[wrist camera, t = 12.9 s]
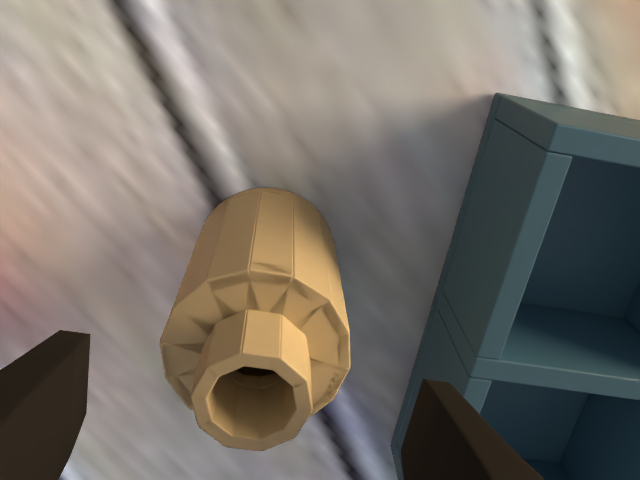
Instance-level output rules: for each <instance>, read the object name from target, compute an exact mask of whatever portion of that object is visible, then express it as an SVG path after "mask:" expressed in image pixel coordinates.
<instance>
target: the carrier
mask: <svg viewBox="0 0 640 480" xmlns="http://www.w3.org/2000/svg"><path fill="white" fill-rule="evenodd" d="M422 379H428V380H435V381H443V382H449V383H450V384H451V385H452V386H453V387H454V388H455V389H456V390H457V391H458V392H459V393H460V394H461V395H462V396H463V397H464V398H465V399H466V400H467V401H468V402H469V403H470V404H471V405H472V407H473V408H474V409H475V410H476V411H477V412H478V413H479V414H480V415H481V416H482V417H483V418H484V419H485V421H486V422H487V423H488V424H489V425H490V426H491V427H492V428H493V429H494V430H495V431H496V432H497V433H498V434H499V435H500V436H501V437H502V438H503V439H504V440H505V441H506V442H507V444H508V445H509V446H510V447H511V448H512V449H513V450H514V451H515V452H516V453H517V454H519V455H520V456H521V457H522V458H523V459H524V460H525V461H526V462H527V463H528V464H529V465H530V466H531V467H532V468H533V469H534V470H535V471H536V472H537V473H539V474H540V475H541V476H542V477H543V478H544V479H545V480H640V120H634V119H629V118H624V117H619V116H614V115H609V114H604V113H599V112H593V111H588V110H583V109H578V108H573V107H568V106H563V105H557V104H552V103H547V102H542V101H537V100H532V99H527V98H522V97H516V96H511V95H506V94H501V93H496V94H495V96H494V99H493V102H492V106H491V109H490V113H489V116H488V119H487V123H486V126H485V129H484V133H483V136H482V139H481V143H480V146H479V149H478V153H477V156H476V160H475V163H474V166H473V170H472V173H471V176H470V180H469V183H468V186H467V190H466V193H465V197H464V200H463V203H462V207H461V210H460V213H459V217H458V220H457V223H456V227H455V230H454V233H453V237H452V240H451V244H450V247H449V250H448V254H447V257H446V260H445V264H444V267H443V270H442V274H441V277H440V280H439V284H438V287H437V291H436V294H435V297H434V301H433V304H432V307H431V311H430V314H429V317H428V321H427V324H426V328H425V331H424V334H423V338H422V341H421V344H420V348H419V351H418V354H417V358H416V361H415V364H414V368H413V371H412V375H411V378H410V381H409V385H408V388H407V391H406V395H405V398H404V401H403V405H402V408H401V412H400V415H399V418H398V422H397V425H396V428H395V432H394V435H393V438H392V442H391V445H390V446H391V451H392V455H393V459H394V464H395V468H396V473H397V478H398V480H404V479H403V470H402V460H401V447H402V444H403V441H404V438H405V434H406V431H407V428H408V425H409V422H410V418H411V415H412V412H413V409H414V405H415V402H416V399H417V396H418V392H419V389H420V386H421V383H422Z"/></svg>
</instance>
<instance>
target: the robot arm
mask: <svg viewBox="0 0 640 480" xmlns="http://www.w3.org/2000/svg"><path fill="white" fill-rule="evenodd" d="M89 351H90V334H86V333H78V332H71V331H63V330H60V331H58V332H57V333H55V334H54V335H52V336H51V337H49V338H48V339H46V340H44V341H43V342H42V343H40V344H39V345H37V346H36V347H34V348H33V349H31V350H30V351H28V352H27V353H25V354H24V355H22V356H21V357H19V358H18V359H16V360H15V361H14V362H12V363H11V364H9V365H7V366H6V367H4V368H3V369H1V370H0V480H58V479H59V477H60V475H61V473H62V471H63V469H64V467H65V465H66V463H67V461H68V459H69V457H70V455H71V453H72V450H73V447H74V445H75V442H76V440H77V437H78V434H79V432H80V429H81V426H82V423H83V421H84V418H85V415H86V409H87V389H88V370H89ZM401 460H402V470H403V479H404V480H545V479H544V478H543V477H542V476H541V475H540V474H539V473H537V472H536V471H535V470H534V469H533V468H532V467H531V466H530V465H529V464H528V463H527V462H526V461H525V460H524V459H523V458H522V457H521V456H520V455H519V454H517V453H516V452H515V451H514V450H513V449H512V448H511V447H510V446H509V445H508V444H507V442H506V441H505V440H504V439H503V438H502V437H501V436H500V435H499V434H498V433H497V432H496V431H495V430H494V429H493V428H492V427H491V426H490V425H489V424H488V423H487V422H486V421H485V419H484V418H483V417H482V416H481V415H480V414H479V413H478V412H477V411H476V410H475V409H474V408H473V407H472V405H471V404H470V403H469V402H468V401H467V400H466V399H465V398H464V397H463V396H462V395H461V394H460V393H459V392H458V391H457V390H456V389H455V388H454V387H453V386H452V385H451V384H450V383H449V382H443V381H435V380H428V379H422V383H421V386H420V389H419V392H418V396H417V399H416V402H415V405H414V409H413V412H412V415H411V418H410V422H409V425H408V428H407V431H406V434H405V438H404V441H403V444H402V447H401Z"/></svg>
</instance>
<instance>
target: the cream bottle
mask: <svg viewBox="0 0 640 480" xmlns="http://www.w3.org/2000/svg"><path fill="white" fill-rule="evenodd" d="M160 348H161V354H162V360H163V367H164V373H165V377H166V380H167V381H168V382H169V384H170V385H171V386H172V387H173V389H174V390H175V391H176V393H177V394H178V395H179V397H180V398H181V399H182V400H183V402H184V403H185V404H186V406H187V407H188V408H189V409H191V410H193V411H194V413H195V417H196V421H197V424H198V426H199V428H201V429H202V430H203V431H205V432H206V433H207V434H209V435H210V436H211V437H213V438H214V439H215V440H217V441H218V442H219V443H221V444H222V445H223V446H226V447H229V448H237V449H246V450H254V451H264V450H267V449H269V448H272V447H274V446H277V445H279V444H282V443H284V442H286V441H289V440H291V439H294V437H296V436H297V434H298V432H299V431H300V429H301V428H302V426H303V425H304V423H305V422H306V420H307V419H308V418H309V417H310V416H312V415H313V414H315V413H316V412H317V411H319V410H320V409H321V408H323V407H324V406H326V405H327V404H328V403H330V402H331V401H332V400H333V399H334V397H335V395H336V394H337V392H338V390H339V388H340V386H341V384H342V382H343V381H344V379H345V377H346V375H347V373H348V371H349V369H350V331H349V325H348V319H347V314H346V308H345V302H344V296H343V290H342V284H341V278H340V272H339V267H338V261H337V255H336V249H335V243H334V239H333V237H332V235H331V232H330V229H329V227H328V225H327V223H326V221H325V219H324V218H323V216H322V215H321V214H320V213H319V211H318V210H317V209H316V208H315V207H314V206H313V205H312V204H310V203H309V202H308V201H306V200H305V199H303V198H302V197H300V196H298V195H296V194H294V193H291V192H288V191H285V190H281V189H275V188H255V189H249V190H246V191H242V192H239V193H237V194H235V195H232V196H231V197H229V198H227V199H226V200H224V201H223V202H222V203H220V204H219V205H218V206H217V207H216V208H215V209H214V210H213V211H212V212H211V214H210V215H209V217H208V218H207V219H206V221H205V223H204V225H203V228H202V230H201V233H200V236H199V238H198V241H197V243H196V246H195V249H194V251H193V254H192V257H191V259H190V262H189V264H188V267H187V270H186V272H185V275H184V278H183V280H182V283H181V286H180V288H179V291H178V294H177V296H176V299H175V302H174V304H173V307H172V310H171V312H170V315H169V318H168V320H167V323H166V326H165V328H164V331H163V334H162V336H161V339H160Z"/></svg>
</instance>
